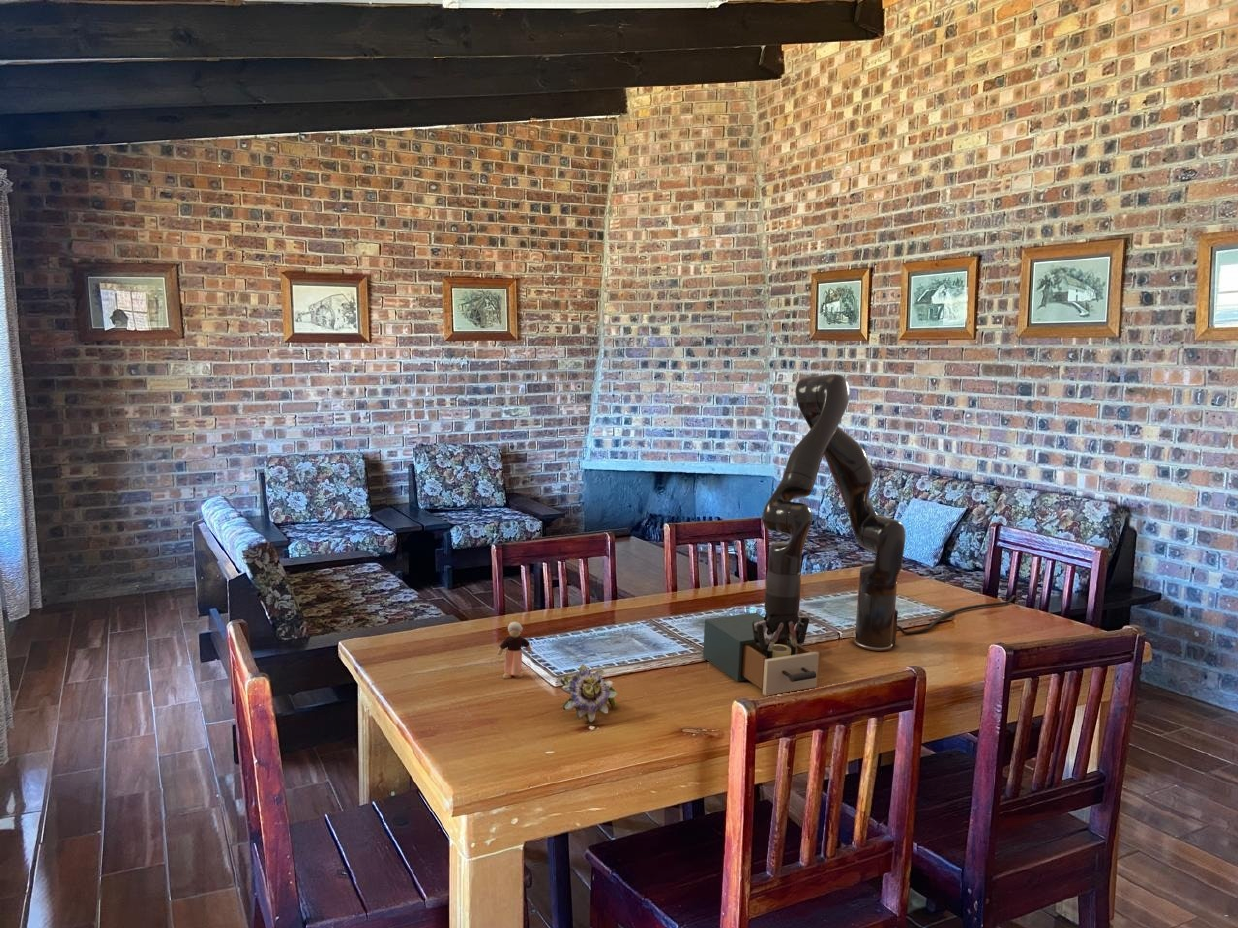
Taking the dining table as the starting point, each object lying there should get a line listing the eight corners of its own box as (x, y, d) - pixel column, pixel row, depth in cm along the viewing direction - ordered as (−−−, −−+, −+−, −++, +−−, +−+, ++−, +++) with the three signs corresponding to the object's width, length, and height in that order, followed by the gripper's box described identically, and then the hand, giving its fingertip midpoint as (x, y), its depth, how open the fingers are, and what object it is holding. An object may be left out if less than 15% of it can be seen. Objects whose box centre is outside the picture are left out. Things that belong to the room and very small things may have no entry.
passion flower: (590, 745, 177) (564, 710, 170) (566, 715, 185) (541, 680, 179) (633, 709, 179) (610, 674, 173) (608, 681, 188) (585, 646, 181)
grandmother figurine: (501, 681, 193) (501, 626, 191) (495, 675, 197) (496, 621, 195) (533, 676, 197) (534, 622, 195) (527, 669, 200) (528, 616, 198)
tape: (781, 659, 198) (782, 642, 198) (794, 667, 194) (795, 650, 193) (761, 662, 196) (762, 645, 196) (775, 671, 192) (776, 653, 191)
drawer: (828, 694, 190) (831, 660, 188) (777, 703, 184) (779, 668, 183) (778, 662, 207) (780, 631, 205) (730, 670, 201) (731, 638, 200)
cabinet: (791, 672, 203) (793, 633, 202) (737, 681, 197) (739, 641, 195) (754, 649, 217) (756, 612, 215) (702, 657, 211) (704, 619, 209)
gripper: (765, 598, 186) (760, 674, 189) (820, 591, 192) (815, 665, 195) (745, 588, 193) (741, 661, 195) (799, 582, 199) (794, 653, 201)
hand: (778, 663), depth 195 cm, fingers closed on tape, 5 cm apart
